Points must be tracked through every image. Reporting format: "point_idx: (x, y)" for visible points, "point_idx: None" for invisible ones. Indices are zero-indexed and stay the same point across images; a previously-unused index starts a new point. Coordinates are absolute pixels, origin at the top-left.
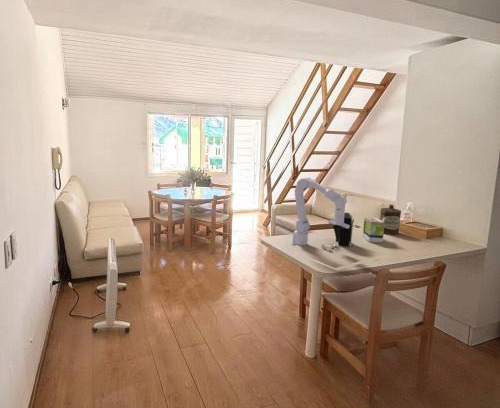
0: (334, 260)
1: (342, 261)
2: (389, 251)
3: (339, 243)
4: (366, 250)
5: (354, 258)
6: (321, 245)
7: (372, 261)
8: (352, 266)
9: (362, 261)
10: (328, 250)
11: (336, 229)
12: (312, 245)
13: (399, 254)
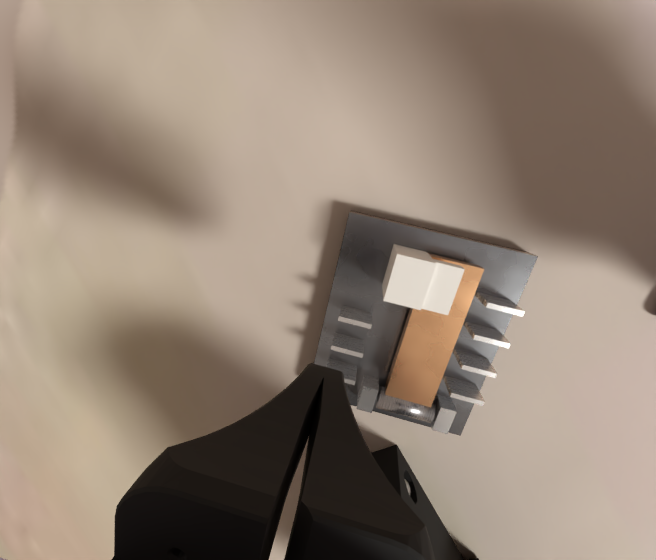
0: (245, 75)
1: (185, 114)
2: None
3: (394, 477)
4: None
5: (171, 273)
6: (517, 308)
7: (63, 304)
8: (64, 56)
9: (98, 250)
10: (395, 245)
11: (281, 453)
12: (633, 351)
13: (65, 534)
